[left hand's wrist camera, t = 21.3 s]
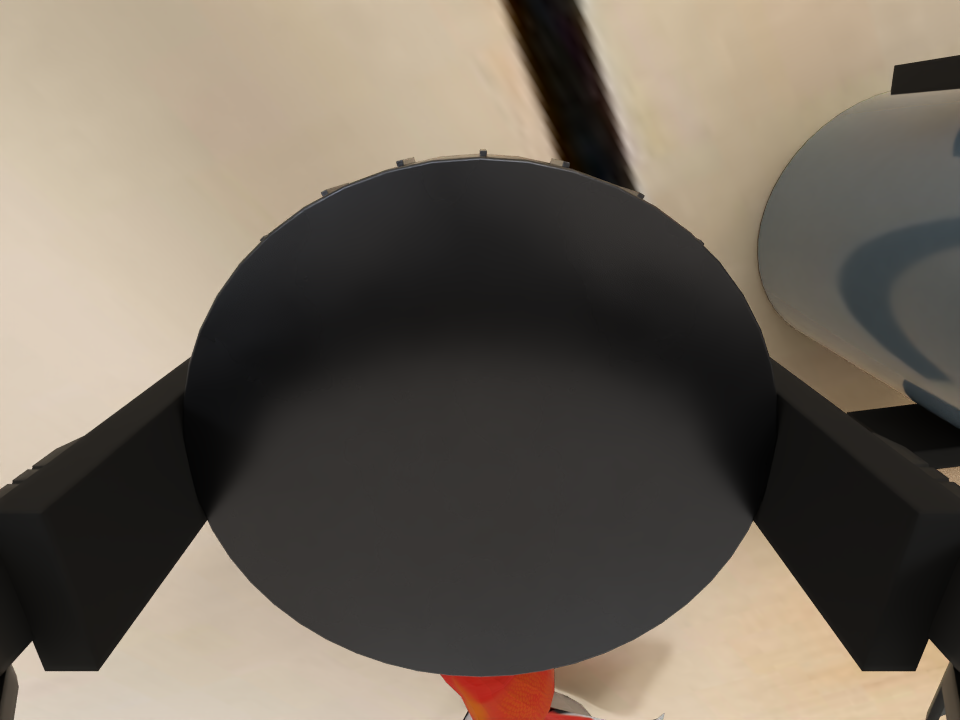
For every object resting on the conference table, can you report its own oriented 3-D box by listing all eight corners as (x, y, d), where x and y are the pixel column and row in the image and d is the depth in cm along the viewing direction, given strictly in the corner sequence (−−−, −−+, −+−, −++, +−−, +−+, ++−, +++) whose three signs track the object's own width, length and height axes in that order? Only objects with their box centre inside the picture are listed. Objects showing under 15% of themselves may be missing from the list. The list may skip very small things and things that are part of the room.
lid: (218, 111, 10) (148, 104, 8) (803, 193, 10) (883, 206, 8) (239, 577, 14) (196, 654, 12) (659, 619, 14) (689, 700, 12)
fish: (654, 545, 22) (652, 874, 16) (668, 641, 34) (670, 856, 28) (417, 525, 26) (345, 787, 20) (502, 618, 37) (473, 802, 31)
